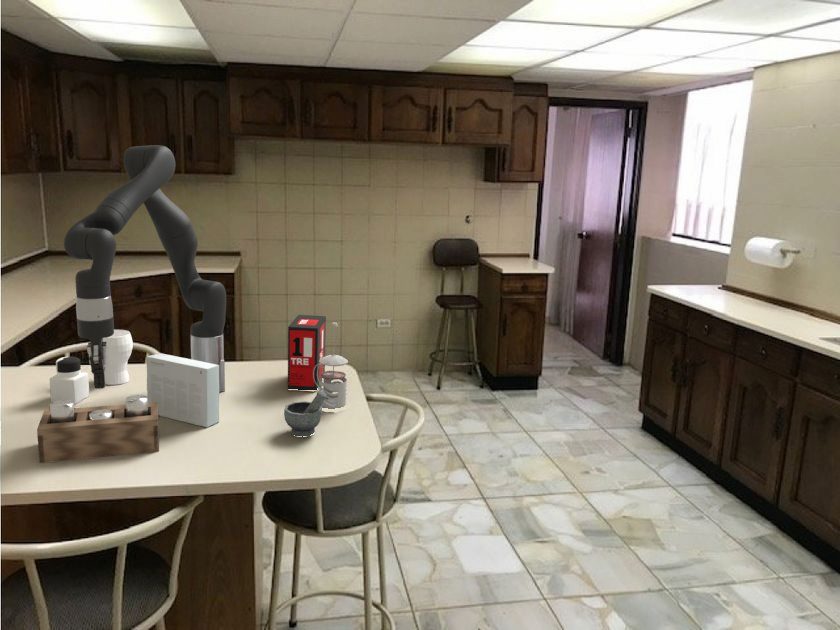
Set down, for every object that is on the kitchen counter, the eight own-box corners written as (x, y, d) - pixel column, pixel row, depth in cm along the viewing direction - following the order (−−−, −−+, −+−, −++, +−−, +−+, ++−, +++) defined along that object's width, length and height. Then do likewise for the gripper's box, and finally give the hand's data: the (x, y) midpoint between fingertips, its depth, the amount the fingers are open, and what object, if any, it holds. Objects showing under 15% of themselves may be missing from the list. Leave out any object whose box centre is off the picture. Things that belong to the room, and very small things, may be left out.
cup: (109, 374, 214) (106, 328, 211) (141, 377, 213) (139, 330, 209) (88, 384, 204) (85, 336, 200) (121, 388, 202) (119, 339, 199)
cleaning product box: (297, 374, 224) (298, 314, 220) (324, 375, 224) (325, 316, 220) (287, 390, 208) (288, 326, 204) (316, 391, 208) (317, 328, 204)
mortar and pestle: (277, 437, 173) (277, 392, 171) (292, 424, 182) (293, 381, 180) (319, 443, 171) (320, 397, 168) (332, 429, 180) (333, 386, 177)
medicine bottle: (89, 396, 195) (87, 355, 192) (75, 404, 188) (72, 363, 185) (66, 394, 195) (63, 353, 193) (50, 402, 188) (47, 361, 186)
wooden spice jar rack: (158, 431, 173) (157, 402, 171) (159, 451, 162) (157, 419, 160) (46, 442, 163) (44, 410, 162) (39, 463, 152) (36, 429, 151)
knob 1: (75, 419, 161) (74, 399, 160) (73, 426, 157) (72, 406, 156) (52, 421, 159) (51, 400, 158) (50, 428, 155) (48, 408, 154)
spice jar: (113, 428, 165) (112, 408, 164) (112, 435, 160) (111, 415, 159) (91, 430, 163) (90, 410, 162) (89, 437, 159) (88, 417, 158)
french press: (334, 415, 190) (337, 328, 184) (303, 405, 196) (304, 321, 190) (356, 405, 198) (359, 322, 192) (325, 397, 204) (327, 315, 198)
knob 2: (148, 413, 167) (147, 394, 166) (148, 420, 163) (147, 400, 162) (127, 415, 165) (126, 395, 164) (126, 422, 161) (125, 402, 160)
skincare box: (221, 421, 181) (220, 364, 178) (207, 428, 176) (205, 369, 173) (161, 406, 190) (159, 351, 186) (146, 412, 185) (144, 356, 181)
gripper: (111, 321, 151) (116, 395, 155) (114, 308, 163) (118, 377, 167) (74, 323, 148) (79, 398, 152) (79, 309, 160) (84, 379, 164)
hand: (99, 387), depth 159 cm, fingers closed
